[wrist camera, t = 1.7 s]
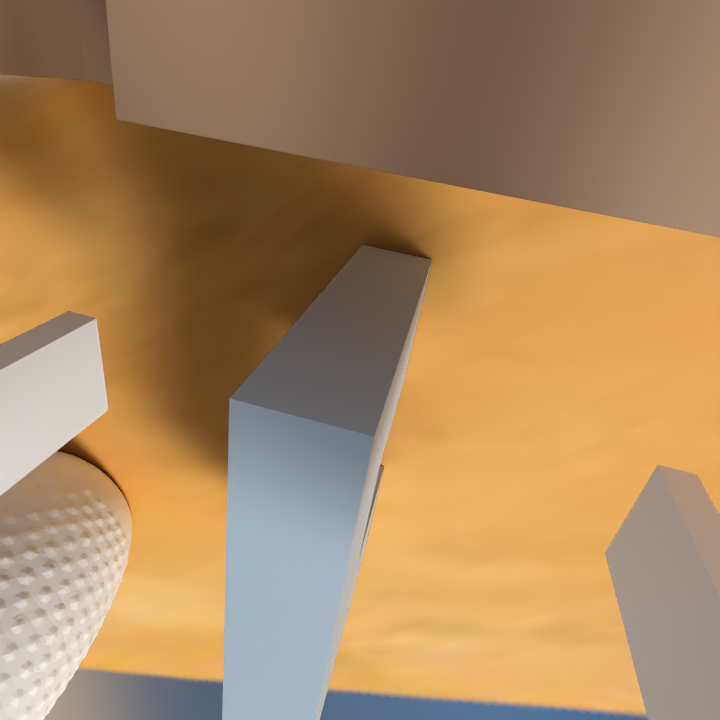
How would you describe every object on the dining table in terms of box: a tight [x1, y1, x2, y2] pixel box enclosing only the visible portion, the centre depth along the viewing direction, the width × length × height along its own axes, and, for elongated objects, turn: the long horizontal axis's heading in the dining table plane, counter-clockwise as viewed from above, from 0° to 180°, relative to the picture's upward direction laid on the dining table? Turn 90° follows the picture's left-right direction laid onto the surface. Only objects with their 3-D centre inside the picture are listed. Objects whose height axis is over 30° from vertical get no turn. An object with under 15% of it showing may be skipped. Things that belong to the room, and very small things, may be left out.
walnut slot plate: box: [0, 0, 720, 237], centre depth 10 cm, size 20×2×10 cm, turn 81°
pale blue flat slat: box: [222, 245, 432, 720], centre depth 15 cm, size 14×2×10 cm, turn 171°
